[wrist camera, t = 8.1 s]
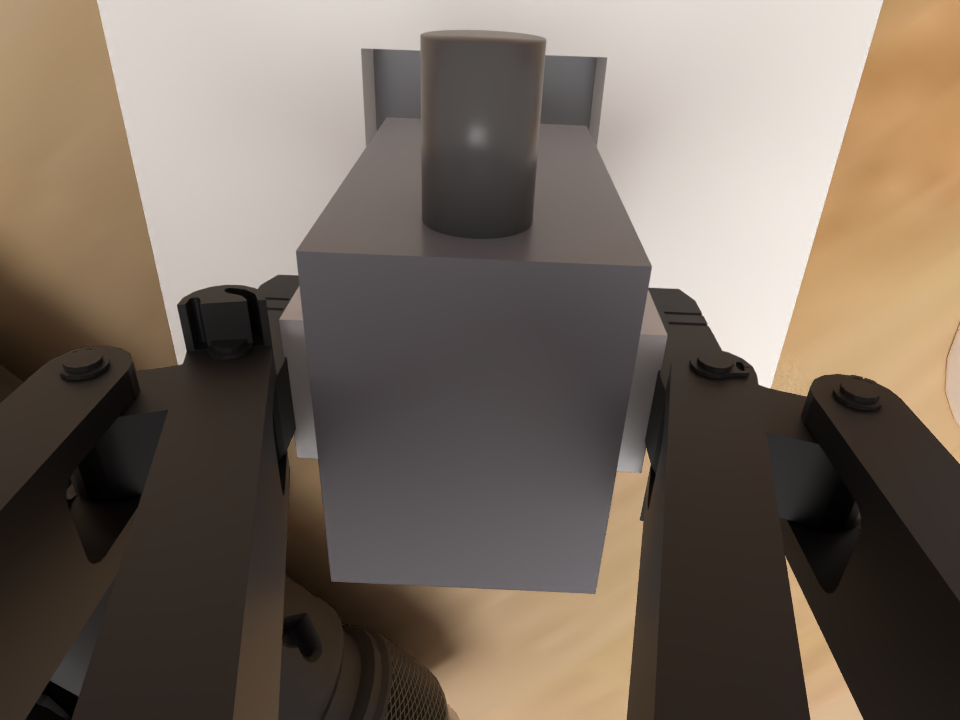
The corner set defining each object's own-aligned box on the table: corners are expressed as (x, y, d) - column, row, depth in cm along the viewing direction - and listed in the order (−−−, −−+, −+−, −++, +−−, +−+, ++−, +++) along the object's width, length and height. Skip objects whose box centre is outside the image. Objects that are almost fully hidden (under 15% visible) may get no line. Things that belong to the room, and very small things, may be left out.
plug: (561, 355, 19) (595, 594, 12) (394, 348, 19) (330, 581, 12) (599, 5, 14) (687, 60, 8) (382, -3, 14) (273, 44, 8)
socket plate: (213, 374, 27) (179, 425, 24) (114, -137, 18) (44, -152, 16) (736, 394, 27) (764, 448, 24) (868, -110, 18) (936, -120, 16)
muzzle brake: (-39, 225, 24) (-355, 389, 15) (484, 641, 35) (480, 882, 26) (-162, 375, 27) (-482, 582, 18) (350, 713, 38) (305, 948, 29)
